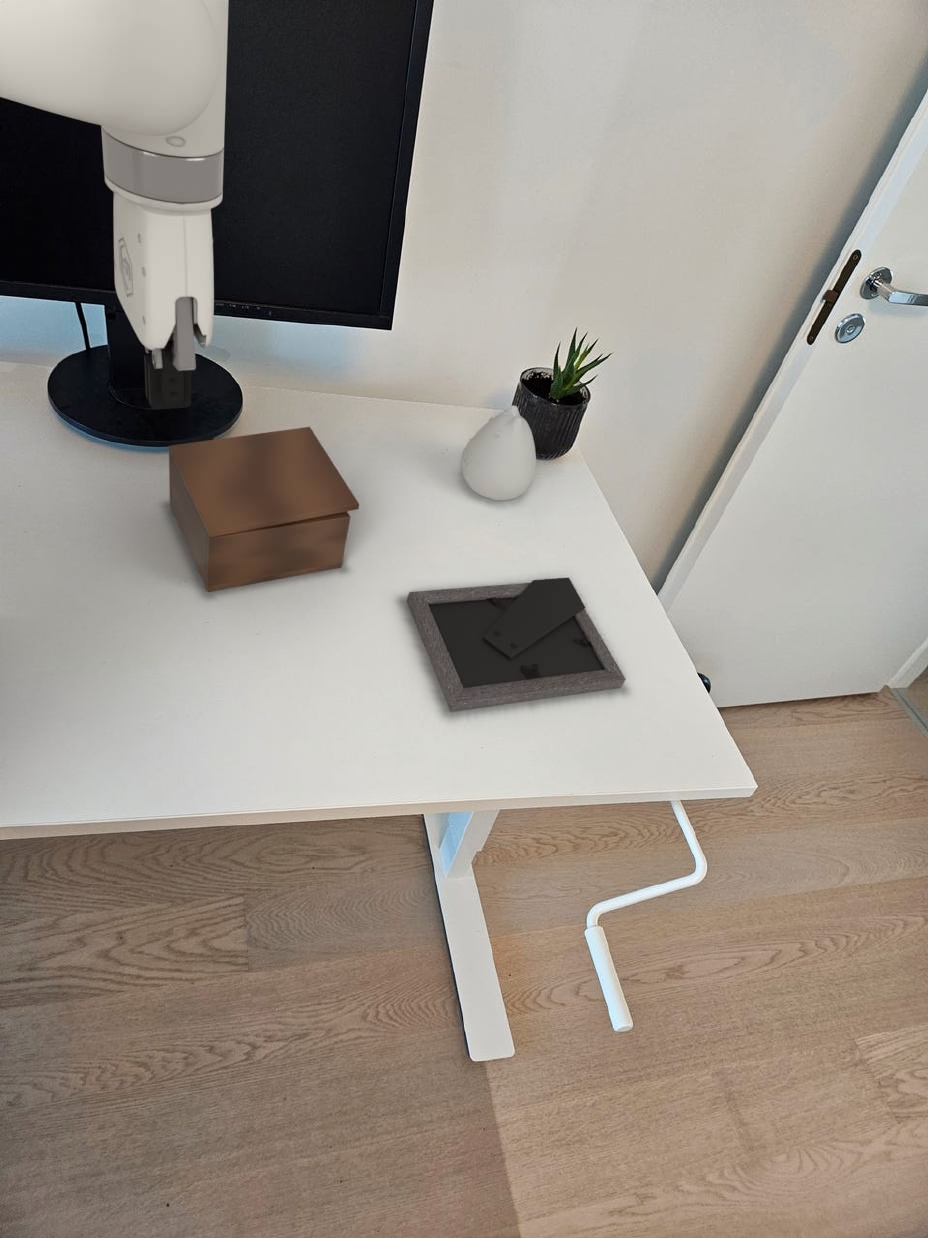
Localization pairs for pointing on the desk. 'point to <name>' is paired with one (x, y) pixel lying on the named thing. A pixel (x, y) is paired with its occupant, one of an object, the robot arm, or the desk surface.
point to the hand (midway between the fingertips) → (168, 402)
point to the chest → (257, 545)
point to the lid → (261, 480)
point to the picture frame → (512, 643)
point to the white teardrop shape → (501, 457)
